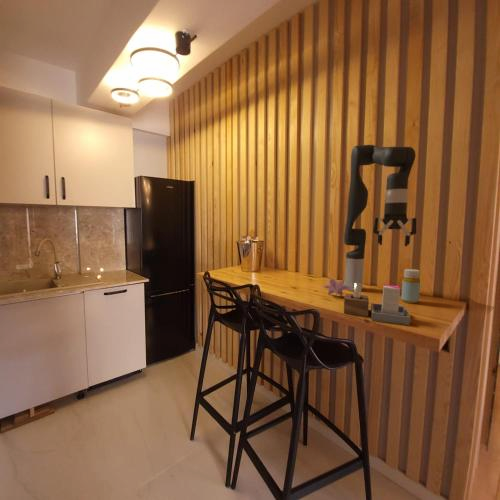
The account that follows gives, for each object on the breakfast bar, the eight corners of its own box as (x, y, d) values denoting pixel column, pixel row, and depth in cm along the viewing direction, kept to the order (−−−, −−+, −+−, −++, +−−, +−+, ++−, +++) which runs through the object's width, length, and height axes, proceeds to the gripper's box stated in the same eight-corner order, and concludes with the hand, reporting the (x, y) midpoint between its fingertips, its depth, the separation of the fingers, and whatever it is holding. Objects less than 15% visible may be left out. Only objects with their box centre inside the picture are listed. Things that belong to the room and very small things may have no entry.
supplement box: (398, 318, 103) (400, 288, 102) (380, 316, 106) (382, 287, 105) (398, 314, 108) (399, 285, 107) (381, 311, 111) (383, 283, 110)
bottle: (397, 300, 130) (399, 269, 128) (408, 299, 132) (410, 268, 131) (411, 304, 123) (413, 271, 122) (422, 303, 126) (424, 270, 124)
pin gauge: (352, 309, 115) (354, 282, 114) (359, 311, 114) (361, 282, 113) (351, 311, 113) (354, 283, 111) (359, 313, 112) (361, 284, 110)
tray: (370, 309, 116) (370, 302, 115) (404, 313, 111) (404, 306, 111) (371, 320, 103) (372, 312, 103) (409, 325, 99) (410, 317, 98)
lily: (354, 300, 133) (352, 281, 136) (343, 295, 125) (341, 275, 129) (331, 303, 140) (329, 285, 144) (319, 298, 132) (318, 279, 136)
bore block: (345, 307, 119) (345, 293, 119) (367, 309, 116) (368, 295, 115) (343, 313, 111) (344, 298, 110) (367, 316, 108) (368, 301, 107)
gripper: (375, 201, 102) (373, 245, 103) (419, 201, 96) (416, 247, 98) (374, 203, 109) (372, 244, 110) (416, 202, 103) (413, 245, 105)
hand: (393, 245), depth 104 cm, fingers open, 8 cm apart
